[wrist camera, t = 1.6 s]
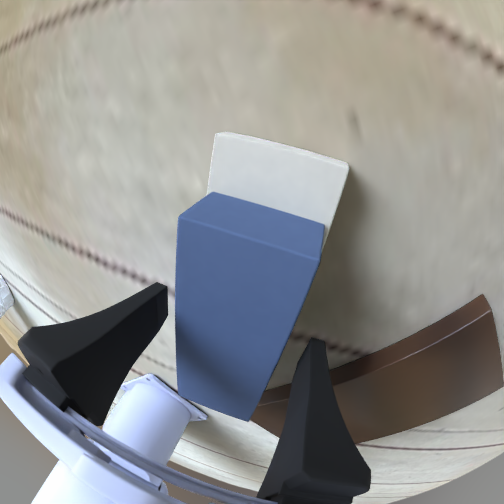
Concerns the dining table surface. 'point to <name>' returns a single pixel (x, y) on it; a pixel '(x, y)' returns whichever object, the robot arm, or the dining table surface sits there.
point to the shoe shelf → (409, 378)
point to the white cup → (5, 297)
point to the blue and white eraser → (248, 266)
